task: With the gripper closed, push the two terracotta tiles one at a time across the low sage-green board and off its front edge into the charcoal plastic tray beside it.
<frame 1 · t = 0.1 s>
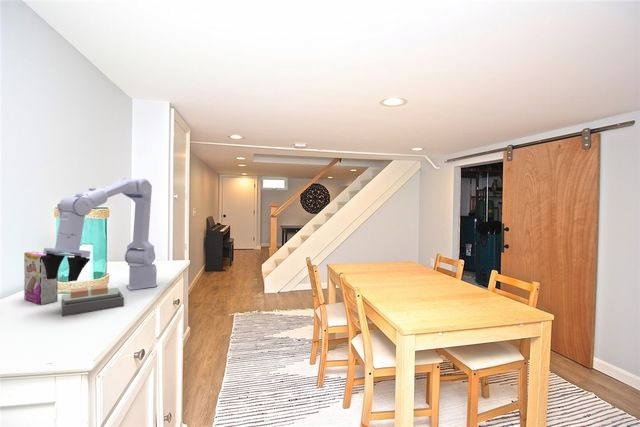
hand: (61, 280, 89), 11 cm above the table, tool pointing down, fingers open, 7 cm apart
tile a: (99, 292, 105), point 2 cm above the table, touching board
tray: (93, 307, 96), on the table
tile b: (79, 295, 101), point 2 cm above the table, touching board
board: (92, 299, 103), on the table
candy bar box: (40, 301, 100), on the table
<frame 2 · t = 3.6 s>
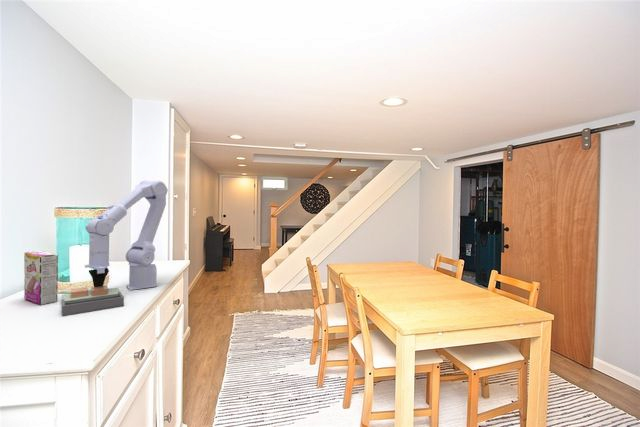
hand: (98, 289, 106), 3 cm above the table, tool pointing down, fingers closed
tile a: (99, 293, 104), point 2 cm above the table, touching board, gripper
everything else where it was.
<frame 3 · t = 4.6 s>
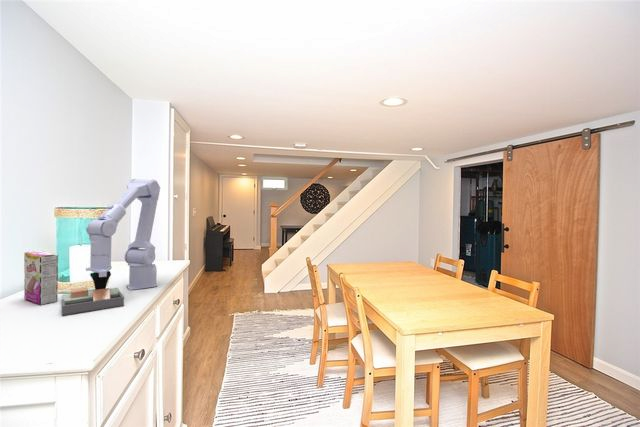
hand: (100, 293, 102), 3 cm above the table, tool pointing down, fingers closed
tile a: (101, 298, 100), point 2 cm above the table, tilted 36°, touching gripper
everything else where it was.
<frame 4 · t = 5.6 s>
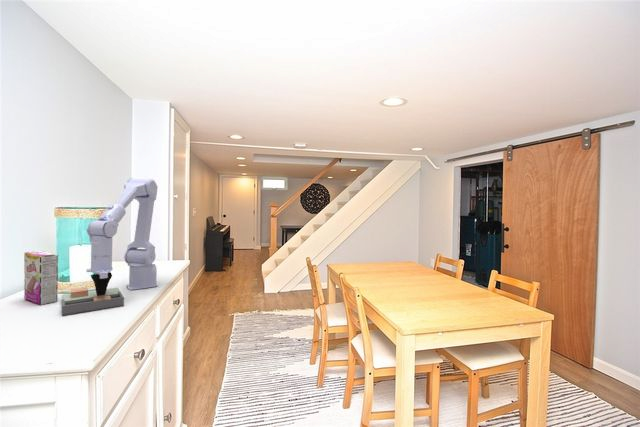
hand: (101, 295, 100), 3 cm above the table, tool pointing down, fingers closed
tile a: (102, 304, 98), resting on tray
everything else where it was.
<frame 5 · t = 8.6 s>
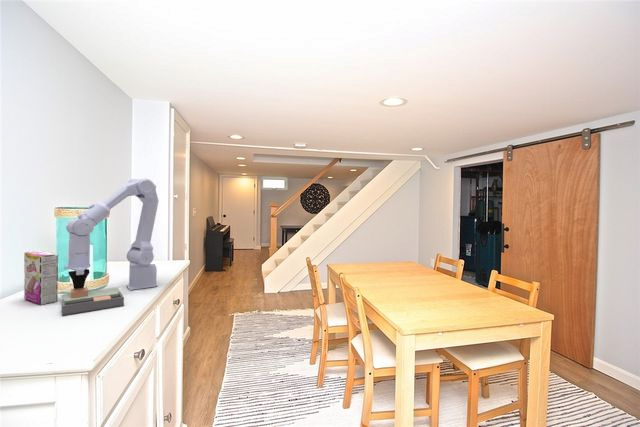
hand: (78, 291, 103), 3 cm above the table, tool pointing down, fingers closed
tile b: (79, 295, 101), point 2 cm above the table, touching board, gripper
everything else where it was.
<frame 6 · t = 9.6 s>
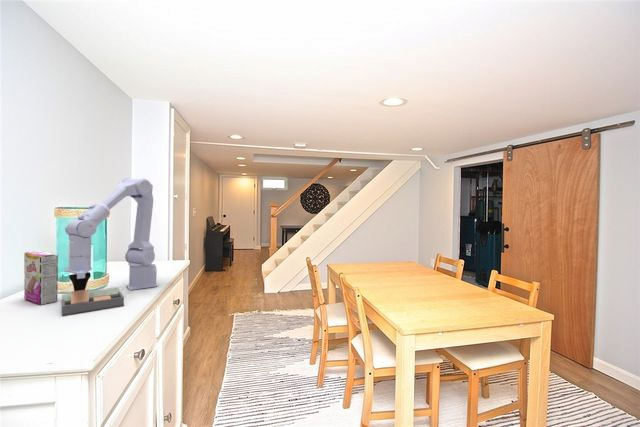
hand: (79, 295, 99), 3 cm above the table, tool pointing down, fingers closed
tile b: (79, 299, 97), point 2 cm above the table, tilted 45°, touching gripper, tray
everything else where it was.
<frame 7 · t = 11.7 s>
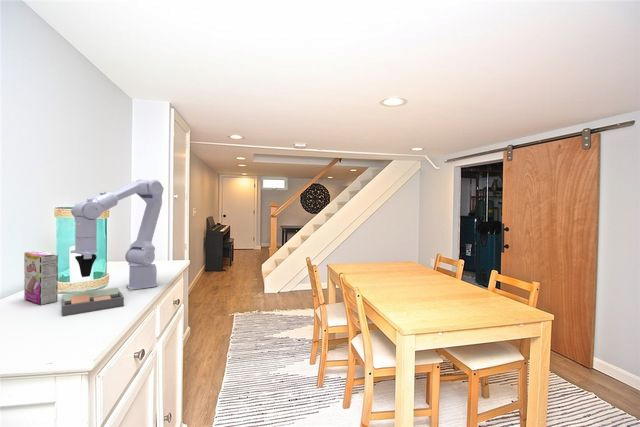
hand: (85, 276, 101), 9 cm above the table, tool pointing down, fingers closed
tile b: (80, 304, 95), point 1 cm above the table, tilted 16°, touching tray
everything else where it was.
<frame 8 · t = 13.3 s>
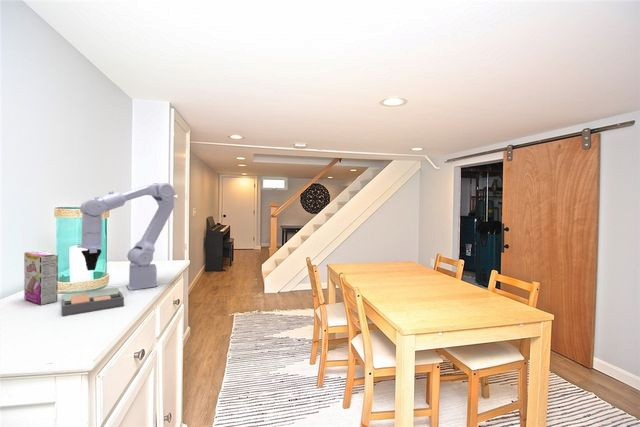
hand: (91, 269, 107), 9 cm above the table, tool pointing down, fingers closed
nothing on the table moved.
at the end: tile a inside the target area (2.5 cm from its centre), resting on tray; tile b inside the target area (3.9 cm from its centre), point 1.0 cm above the table; candy bar box moved 0.2 cm from its start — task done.
